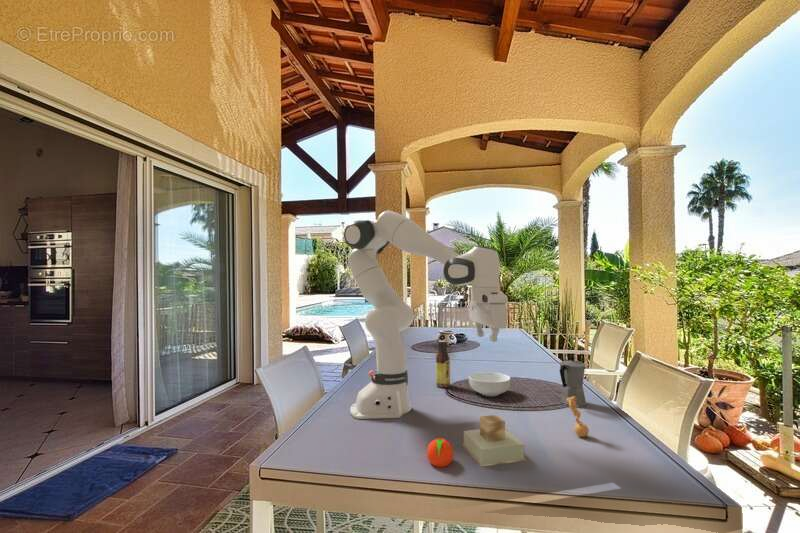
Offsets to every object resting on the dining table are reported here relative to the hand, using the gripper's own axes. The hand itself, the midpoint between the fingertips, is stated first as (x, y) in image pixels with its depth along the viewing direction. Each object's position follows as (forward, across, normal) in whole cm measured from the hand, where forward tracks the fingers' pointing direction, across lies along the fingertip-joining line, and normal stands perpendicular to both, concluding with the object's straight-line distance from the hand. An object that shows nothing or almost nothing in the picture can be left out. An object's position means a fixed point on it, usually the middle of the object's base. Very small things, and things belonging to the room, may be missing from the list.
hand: (486, 338), depth 125 cm
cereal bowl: (+29, -33, +17) cm, 47 cm away
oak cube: (+24, +17, -7) cm, 30 cm away
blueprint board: (+29, +17, -7) cm, 34 cm away
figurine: (+29, +12, +24) cm, 40 cm away
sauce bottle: (+29, -48, +2) cm, 56 cm away
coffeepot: (+29, -13, +41) cm, 52 cm away
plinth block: (+28, +17, -7) cm, 33 cm away
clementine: (+29, +19, -23) cm, 42 cm away
